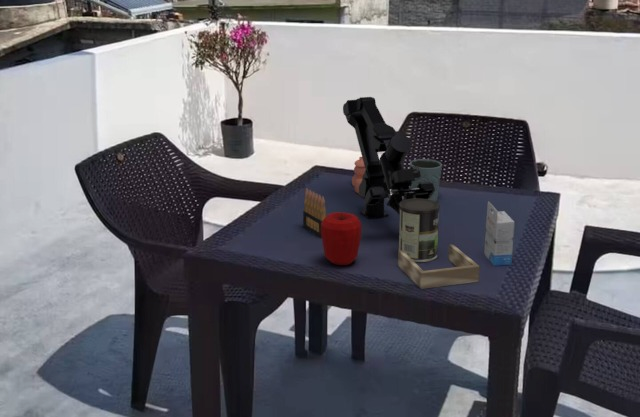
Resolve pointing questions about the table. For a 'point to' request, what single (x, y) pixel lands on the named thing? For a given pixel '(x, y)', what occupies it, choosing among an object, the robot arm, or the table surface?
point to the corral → (441, 270)
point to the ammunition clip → (313, 212)
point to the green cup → (428, 174)
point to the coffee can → (419, 229)
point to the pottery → (358, 174)
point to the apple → (341, 237)
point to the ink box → (498, 237)
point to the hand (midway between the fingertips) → (407, 221)
